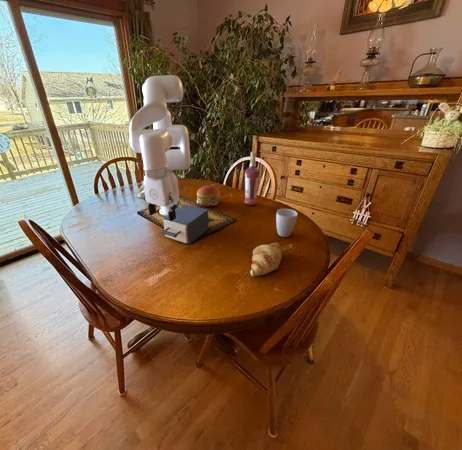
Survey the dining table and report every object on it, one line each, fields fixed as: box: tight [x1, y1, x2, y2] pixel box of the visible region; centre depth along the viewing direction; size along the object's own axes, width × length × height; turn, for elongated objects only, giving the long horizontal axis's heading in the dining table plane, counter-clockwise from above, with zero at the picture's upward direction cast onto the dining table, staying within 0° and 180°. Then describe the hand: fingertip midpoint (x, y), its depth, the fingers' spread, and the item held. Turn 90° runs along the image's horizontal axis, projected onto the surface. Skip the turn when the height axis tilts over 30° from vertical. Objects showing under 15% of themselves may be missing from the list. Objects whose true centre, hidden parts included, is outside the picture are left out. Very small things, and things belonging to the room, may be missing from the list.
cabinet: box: [163, 204, 210, 245], centre depth 103 cm, size 15×13×10 cm
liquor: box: [243, 151, 260, 207], centre depth 123 cm, size 7×7×28 cm
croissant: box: [250, 241, 283, 277], centre depth 83 cm, size 21×10×8 cm, turn 143°
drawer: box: [160, 219, 188, 244], centre depth 100 cm, size 18×11×8 cm, turn 147°
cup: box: [275, 208, 298, 238], centre depth 99 cm, size 8×8×10 cm
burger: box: [196, 185, 221, 208], centre depth 131 cm, size 13×14×10 cm
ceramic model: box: [137, 182, 144, 199], centre depth 147 cm, size 14×11×10 cm
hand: (162, 216), depth 88 cm, fingers open, 9 cm apart
